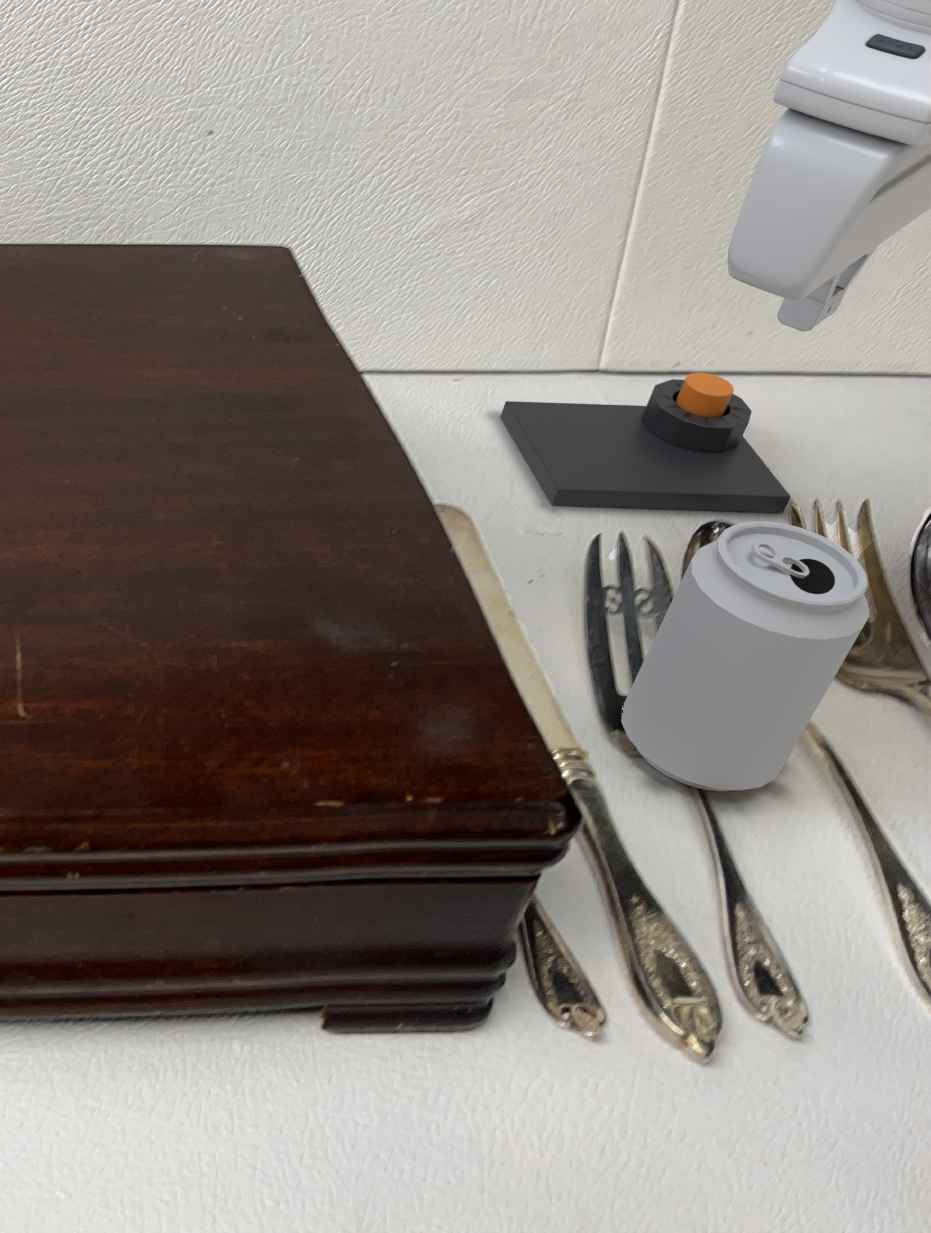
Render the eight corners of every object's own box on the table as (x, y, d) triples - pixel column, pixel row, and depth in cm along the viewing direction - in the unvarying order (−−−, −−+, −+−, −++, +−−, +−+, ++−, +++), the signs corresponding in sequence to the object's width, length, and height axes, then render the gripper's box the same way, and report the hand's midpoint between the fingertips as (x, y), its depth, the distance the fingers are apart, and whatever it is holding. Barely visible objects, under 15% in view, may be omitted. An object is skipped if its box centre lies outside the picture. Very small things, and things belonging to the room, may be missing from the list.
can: (765, 825, 75) (879, 630, 67) (600, 763, 78) (692, 570, 70) (785, 734, 80) (893, 543, 72) (630, 679, 83) (718, 490, 75)
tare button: (712, 396, 100) (722, 372, 99) (730, 420, 98) (742, 396, 97) (668, 395, 100) (678, 371, 99) (686, 419, 98) (696, 394, 97)
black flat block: (711, 420, 103) (729, 380, 101) (783, 513, 95) (804, 471, 93) (498, 413, 103) (512, 373, 101) (551, 505, 95) (567, 463, 93)
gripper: (945, -18, 78) (825, 240, 87) (767, 73, 68) (650, 357, 76) (1087, 17, 75) (946, 282, 84) (922, 119, 64) (781, 411, 73)
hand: (803, 319), depth 80 cm, fingers closed
